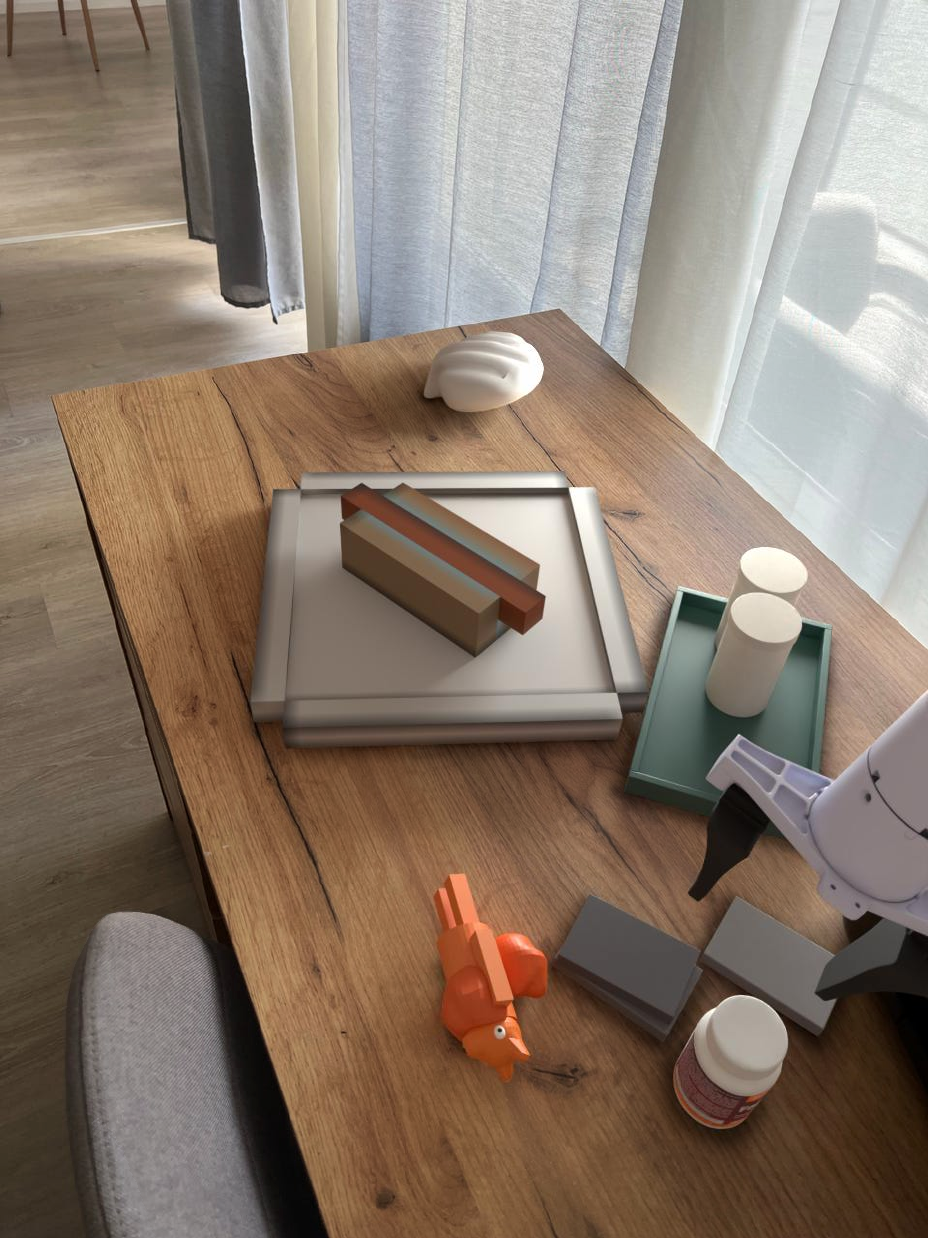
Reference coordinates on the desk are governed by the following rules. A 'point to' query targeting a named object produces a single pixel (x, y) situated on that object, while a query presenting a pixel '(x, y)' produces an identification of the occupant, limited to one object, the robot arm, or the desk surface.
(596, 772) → the desk surface
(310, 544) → the silver square tray
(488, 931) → the orange toy bird
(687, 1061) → the pill bottle
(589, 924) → the grey books
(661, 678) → the tray
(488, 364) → the shell shaped sculpture
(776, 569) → the white cylinders
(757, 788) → the robot arm
